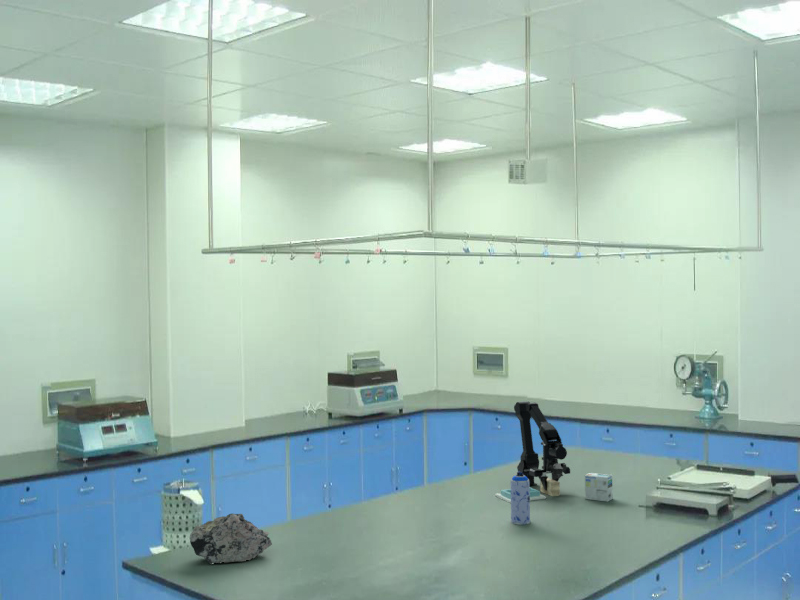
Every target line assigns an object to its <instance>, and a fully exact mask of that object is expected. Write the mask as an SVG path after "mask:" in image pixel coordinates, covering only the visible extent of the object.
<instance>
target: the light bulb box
mask: <svg viewBox="0 0 800 600" xmlns="http://www.w3.org/2000/svg"><path fill="white" fill-rule="evenodd" d="M613 487H614V486H613V474H604V473H595V472H589V473H586V474H585V475H584V492H585V493H584V498H585V500H591V501H601V502H609V501H611V500H613V498H614V491H613V489H614V488H613Z"/></svg>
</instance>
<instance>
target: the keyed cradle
mask: <svg viewBox="0 0 800 600" xmlns="http://www.w3.org/2000/svg"><path fill="white" fill-rule="evenodd" d="M494 496H495V497H497V498H498V499H501V500H503V501H505V502H507V503H510V504H511V488H509V489H500V492H499V493H495V494H494ZM546 498H547V497H546V496H545V495H543V494H541V490H538V489H535V488H533V487H531V486H530V501H537V500H546Z"/></svg>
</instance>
